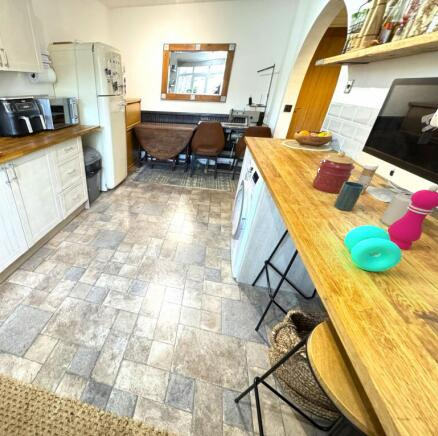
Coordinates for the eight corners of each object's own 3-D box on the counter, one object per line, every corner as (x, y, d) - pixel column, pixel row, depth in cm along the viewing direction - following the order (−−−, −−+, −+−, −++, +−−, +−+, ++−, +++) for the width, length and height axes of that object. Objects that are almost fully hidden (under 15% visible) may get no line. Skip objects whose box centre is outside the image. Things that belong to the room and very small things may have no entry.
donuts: (377, 256, 71) (395, 227, 66) (391, 278, 63) (413, 248, 58) (337, 247, 74) (351, 220, 69) (345, 267, 66) (362, 238, 61)
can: (403, 222, 88) (422, 192, 82) (409, 232, 82) (431, 201, 76) (377, 217, 91) (394, 188, 85) (381, 226, 85) (400, 195, 79)
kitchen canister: (340, 185, 118) (356, 150, 109) (346, 195, 108) (364, 157, 99) (310, 181, 122) (323, 146, 113) (313, 190, 112) (328, 153, 103)
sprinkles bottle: (365, 192, 111) (380, 164, 104) (362, 195, 108) (377, 166, 102) (354, 189, 114) (367, 162, 107) (350, 191, 112) (364, 163, 105)
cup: (343, 203, 101) (354, 181, 96) (356, 210, 95) (368, 187, 90) (329, 204, 100) (339, 181, 95) (342, 211, 94) (353, 188, 89)
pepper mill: (383, 245, 75) (420, 187, 65) (379, 235, 80) (414, 179, 70) (414, 253, 72) (459, 193, 62) (408, 242, 77) (449, 184, 67)
